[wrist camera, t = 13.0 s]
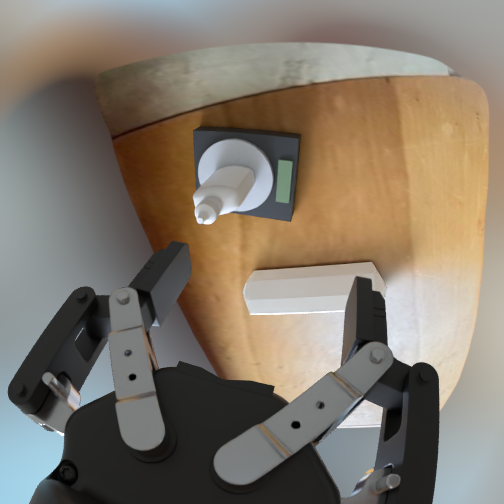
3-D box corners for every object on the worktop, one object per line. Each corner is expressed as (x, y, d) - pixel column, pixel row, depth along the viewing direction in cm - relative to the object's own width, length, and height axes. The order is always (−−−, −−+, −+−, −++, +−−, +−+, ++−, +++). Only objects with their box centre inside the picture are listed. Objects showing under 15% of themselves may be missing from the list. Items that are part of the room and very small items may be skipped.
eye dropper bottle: (220, 154, 38) (179, 192, 29) (260, 171, 38) (232, 215, 29) (211, 182, 41) (171, 226, 31) (248, 198, 41) (219, 248, 31)
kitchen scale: (200, 126, 40) (190, 131, 37) (301, 134, 37) (298, 140, 34) (203, 201, 47) (195, 210, 44) (293, 213, 44) (290, 224, 42)
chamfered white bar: (387, 263, 40) (232, 274, 49) (389, 312, 41) (237, 318, 49) (383, 258, 47) (248, 268, 55) (385, 300, 47) (253, 306, 56)
